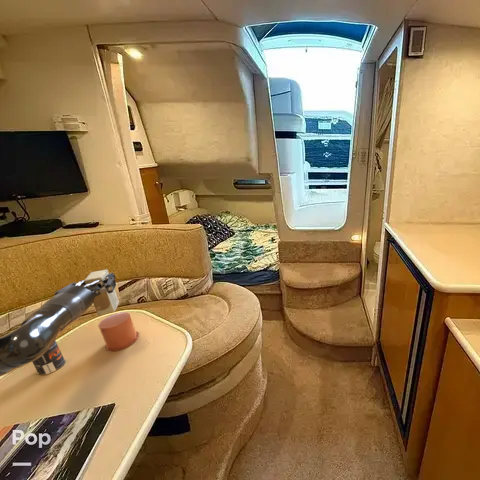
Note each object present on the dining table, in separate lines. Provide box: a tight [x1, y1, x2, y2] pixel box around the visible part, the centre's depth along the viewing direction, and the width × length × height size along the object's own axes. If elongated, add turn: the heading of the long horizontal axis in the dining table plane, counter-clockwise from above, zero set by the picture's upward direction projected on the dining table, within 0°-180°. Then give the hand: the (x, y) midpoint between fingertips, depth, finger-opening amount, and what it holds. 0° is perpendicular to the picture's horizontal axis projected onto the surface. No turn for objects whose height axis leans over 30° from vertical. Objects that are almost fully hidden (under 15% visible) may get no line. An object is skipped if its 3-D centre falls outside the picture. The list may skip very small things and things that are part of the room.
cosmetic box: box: [83, 269, 120, 316], centre depth 82 cm, size 6×4×12 cm
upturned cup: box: [97, 311, 140, 353], centre depth 88 cm, size 9×9×9 cm
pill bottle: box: [32, 340, 66, 376], centre depth 78 cm, size 6×6×11 cm
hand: (102, 277), depth 83 cm, fingers closed on cosmetic box, 5 cm apart
